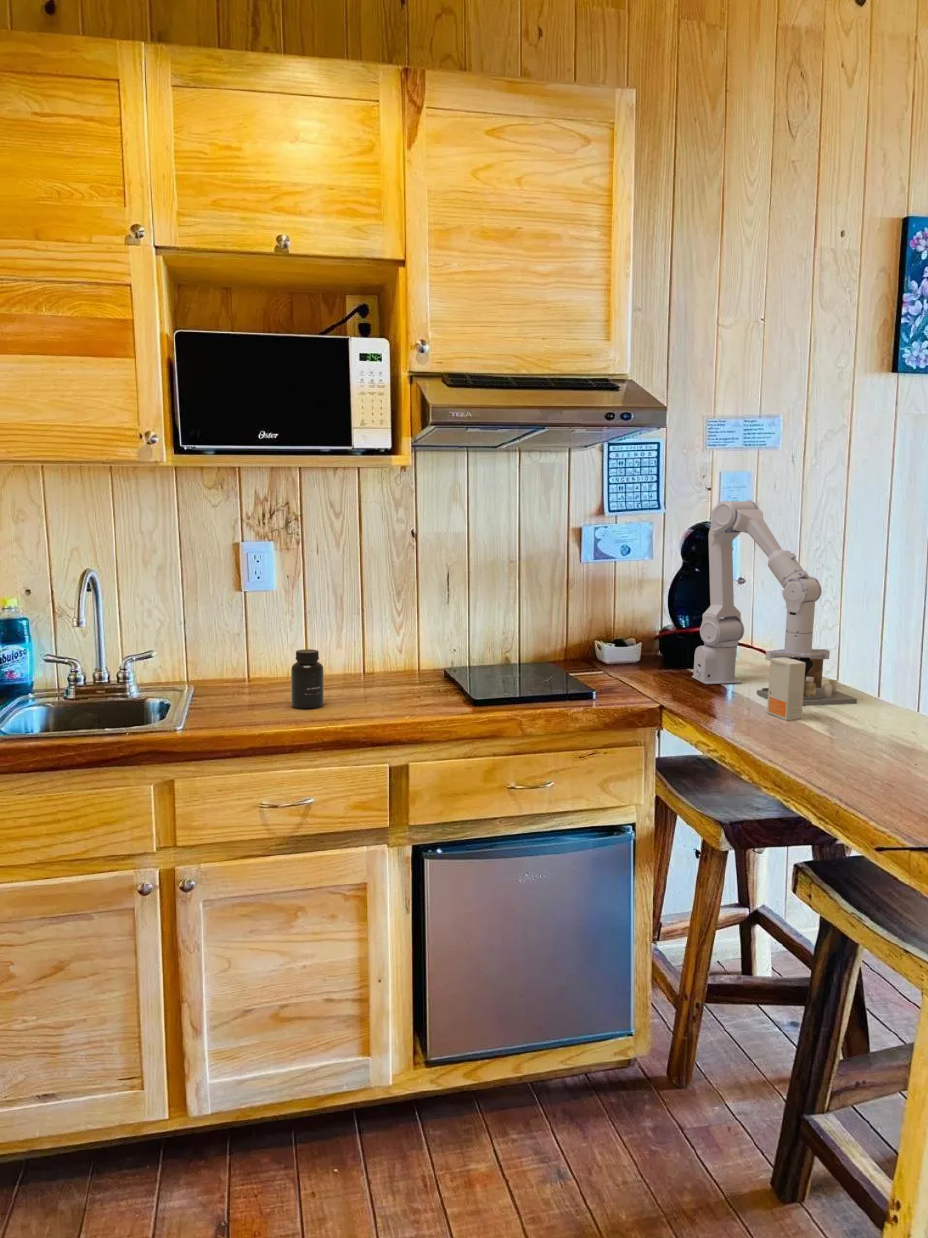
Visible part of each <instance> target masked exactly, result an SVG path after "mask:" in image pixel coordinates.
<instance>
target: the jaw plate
mask: <svg viewBox="0 0 928 1238" xmlns="http://www.w3.org/2000/svg"><path fill="white" fill-rule="evenodd" d="M803 695H805V696H808V697H815V695H816V684H814V683H812V682H809V681H807V680H804V692H803Z"/></svg>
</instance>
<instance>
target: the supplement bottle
mask: <svg viewBox="0 0 928 1238" xmlns="http://www.w3.org/2000/svg"><path fill="white" fill-rule="evenodd" d="M318 660H320V657H319V650H317V649H310V648H307V649H306V648H305V649H298V650H296V651H295V661H296V662H295V663H293V664H292V666H291V669H290V670H291V673H290V674H291V675H290V676H291V679H290V680H291V683H290V684H291V687H290V688H291V693H290V694H291V705H292V706H293V707H294V708H296V709H303V710H311V709H318V708H321V707H322V706H323V705H324V666H323V664H322V663H321V662H319V661H318Z"/></svg>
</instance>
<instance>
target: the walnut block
mask: <svg viewBox="0 0 928 1238" xmlns="http://www.w3.org/2000/svg"><path fill="white" fill-rule="evenodd" d="M810 661H813V666H812V668H811V669H810V670H809V672H808V673H807V675H806V677H813V678H814V682H813V683H814V684H816V688H822V683H823V682H822V681H823V669H824V659H810ZM806 677H805V679H804V680H806Z"/></svg>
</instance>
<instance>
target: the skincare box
mask: <svg viewBox="0 0 928 1238" xmlns="http://www.w3.org/2000/svg"><path fill="white" fill-rule="evenodd" d="M769 664H770V665H769V680H768V688H769V690H768V699H767V706H766V713H767V714H769V715H771V716H775V717H777V718H780V719H782V720H784V721H792V720H800V719H802V716H803V706H804V705H803V692H804V678H805V666H806V663H805V662H801V661H798V660H795V659H789V658H786V657H783V658H771V661H769Z"/></svg>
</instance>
